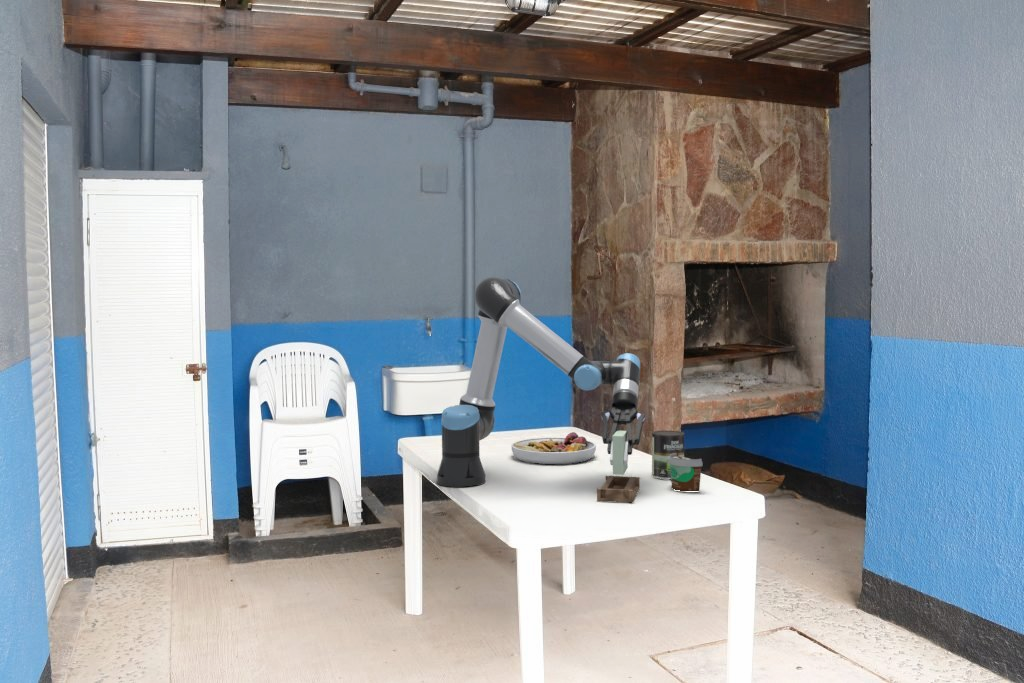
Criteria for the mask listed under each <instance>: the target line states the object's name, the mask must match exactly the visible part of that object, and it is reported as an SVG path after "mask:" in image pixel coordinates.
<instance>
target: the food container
mask: <svg viewBox="0 0 1024 683" xmlns="http://www.w3.org/2000/svg"><path fill="white" fill-rule="evenodd" d="M702 460H703V459H702V458H696V459H695V458H690V457H686V456H684V457H679V456H677V455H676V453H672V454H670V456H669V458H668V463H669V464H670V470H671V480H670V483H671V489H672V488H673V489H675V490H680V491H699V492H700V488H701V486H700V485H701V474H702V472H701V471H702V467H703V464H704V463H703V461H702ZM673 489H672V490H673Z"/></svg>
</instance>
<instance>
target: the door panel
mask: <svg viewBox="0 0 1024 683" xmlns="http://www.w3.org/2000/svg"><path fill="white" fill-rule="evenodd" d="M625 442H628V434H627V430H619V429H618V430H617V431H616V432H615V434H614V435H613V436H612V444H613V465H612V475H613V476H624V475H625V473H626V471H627V469H628V467H629V466H628V462H627V466H624V451H625Z"/></svg>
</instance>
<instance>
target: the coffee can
mask: <svg viewBox="0 0 1024 683" xmlns="http://www.w3.org/2000/svg"><path fill="white" fill-rule="evenodd" d="M685 434H686V433H685V432H683V431H678V430H669V429H668V430H666V429H665V430H663V429H662V430H655V431H652V432H651V477H652V476H653V477H655V478H654V479H657V478H661V479H660V480H663V479H671V470H670V464H669V463H668V458H669V456H670V454H672V453H676V455H677V456H679V457H685ZM653 477H652V478H653Z"/></svg>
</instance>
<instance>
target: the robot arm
mask: <svg viewBox="0 0 1024 683" xmlns="http://www.w3.org/2000/svg"><path fill="white" fill-rule="evenodd" d="M474 301H475V304H476V306H477V308H478V313H477V316H478V318H479V320H480V321H481V322H480V328H479V331H478V332H479V333H478V336H477V340H476V346H475V350H474V355H473V359H472V365H471V370H470V375H469V378H468V382H467V383H468V384H467V389H466V392H465V394H463V395H461V397H460V398H459V404H457V405H456V404H455V405H453V406H452V405H451V406H447V407H446V408H444V409H443V410H442V412H441V419H440V420H441V421H440V422H441V423H440V424H441V450H442V451H441V456H442V457H441V460H440V464H439V467H438V470H437V474H436V484H438V485H439V486H444V487H450V488H464V487H463V486H470V487H473V486H472V485H477V486H479V485H478V484H481V483H483V484H485V483H486V473H485V470H484V469H485V468H484V467H483V464H482V461H481V458H480V456H481V455H480V441H482V440H484V439H486V438H487V437H489V435H490V434H491V433H492V432H493V429H494V427H495V423H496V416H495V414H494V413H495V409H496V402H495V401H494V399H493V397H494V393H495V388H496V387H495V386H496V382H497V377H498V373H499V368H500V363H501V358H502V353H503V350H504V349H503V348H504V345H505V344H504V343H505V340H506V336H507V330H508V329H509V330H511V331H512V332H513V333H514V334H516V335H517V337H520V338H521V339H522V340H524V341H525V343H527V344H529V345H530V346H531V347H532V348H533V349H535V351H536V352H538V353H540V354H541V356H543V357H544V358H546V359H547V360H548V361H549V362H550V363H552V364H553V365H554V366H556V367H557V368H558V369H559V370H561V371H562V372H563V373H564V374H565V375H567V376H568V377H569V378H570V379H572V380H573V382H574V383H575V385H576V387H578V388H579V389H580V390H582V391H593V390H596V388H598V387H599V386H613V389H612V390H613V391H612V400H611V408H610V409H609V411H608V412H604V411H603V412H601V413H600V416H601V420H602V431H601V432H602V434H601V435H602V437H601V438H602V443H603V444H604V445H606V444H607V450H606V451H607V454H608V455H609V463H610V466H613V444H612V436H613V435H614V434H615V432H616V431H617V430H618V431H619V428H620V425H624V426H625V425H626V431H627V442H625V451H624V466H627V462H628V460H629V456H631V455H632V454H633V446H635V445H638V446H639V445H640V442H641V436H642V431H643V424H645V422H646V420H647V419H646V414H645V413H644V412H641V413H639V412H638V411H639V410H637V409H638V398H639V397H638V396H639V387H640V386H639V385H640V377H641V360H640V359H639V357H638V356H637V355H635V354H633V353H628V352H626V353H622V354H620V355H619V356H617V358H616V360H611V361H607V360H606V361H605V360H589V359H588V358H587V357H585V356H584V355H583V354H582V353H580V352H579V351H578V350H577V349H575V348H574V347H573V346H572V345H571V344H569V343H568V342H567V341H565V340H564V339H563V338H561V337H560V336H559V335H558V334H557V333H555V332H554V331H553V330H552V329H550V328H549V327H548V326H547V325H545V323H543V322H542V321H540V320H539V319H538V318H536V316H535V315H533V314H532V313H530V312H529V311H528V310H527V309H526V308H525V307H523V306H522V305H521V302H522V290H521V289H520V287H519V285H518V284H517V283H516V282H514V280H511V279H509V278H507V277H495V276H493V277H487V278H485V279H483V280H481V281H480V282H479V283H478V285H477V286H476V288H475V291H474ZM610 418H611V419H612V420H613V423H612V426H611V429H610V433H609V435H608V432H609V431H608V421H609V419H610ZM635 419H637V424H636V429H635V434H634V438H633V431H632V423H633V421H634V420H635ZM484 482H485V483H484ZM481 485H482V484H481Z"/></svg>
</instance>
